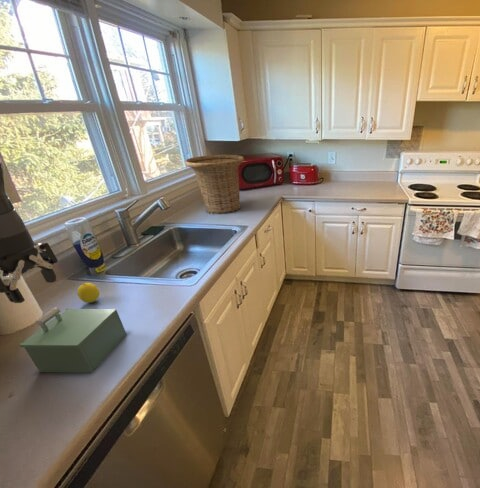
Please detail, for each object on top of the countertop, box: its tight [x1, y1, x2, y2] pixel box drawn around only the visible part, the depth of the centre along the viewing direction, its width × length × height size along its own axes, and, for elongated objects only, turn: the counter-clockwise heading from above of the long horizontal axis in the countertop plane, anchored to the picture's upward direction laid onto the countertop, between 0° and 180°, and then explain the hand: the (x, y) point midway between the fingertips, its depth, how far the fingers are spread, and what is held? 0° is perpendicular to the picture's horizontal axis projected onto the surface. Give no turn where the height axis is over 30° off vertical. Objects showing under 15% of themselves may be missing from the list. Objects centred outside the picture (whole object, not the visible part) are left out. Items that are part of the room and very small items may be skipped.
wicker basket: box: [184, 154, 245, 215], centre depth 182 cm, size 35×35×33 cm
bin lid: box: [19, 306, 118, 348], centre depth 73 cm, size 14×14×5 cm
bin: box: [23, 311, 127, 373], centre depth 76 cm, size 14×14×9 cm
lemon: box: [77, 282, 100, 303], centre depth 96 cm, size 6×6×8 cm
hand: (36, 291), depth 70 cm, fingers open, 8 cm apart
